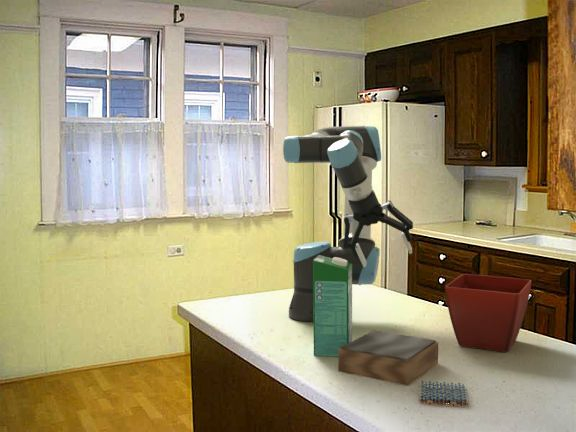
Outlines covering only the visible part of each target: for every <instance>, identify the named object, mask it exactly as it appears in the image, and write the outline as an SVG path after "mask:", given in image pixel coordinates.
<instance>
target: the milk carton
mask: <svg viewBox="0 0 576 432" xmlns="http://www.w3.org/2000/svg"><path fill="white" fill-rule="evenodd" d="M347 262H348V261H347V260H345V259H342V258H338V257H333V258H329V257H325V256H322V255H318V256H317V257H316V258H315V259H314V260H313V320H314V321H313V356H321V357H337V358H338V349H339V348H341V347H342V346H344V345H346V344H348V343H350V342H351V341H353V284H352V264H351V263H347Z"/></svg>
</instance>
